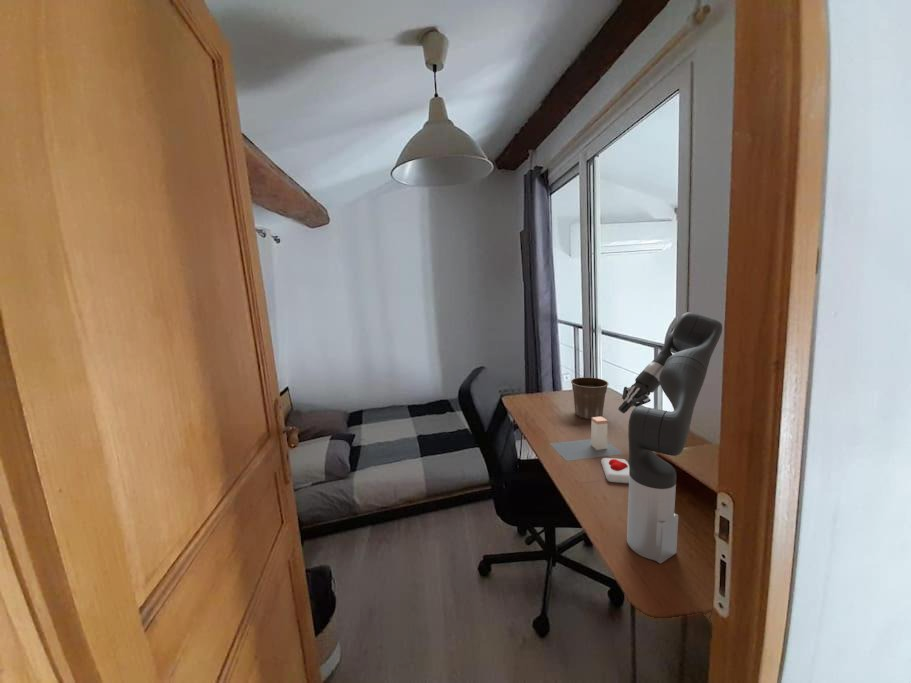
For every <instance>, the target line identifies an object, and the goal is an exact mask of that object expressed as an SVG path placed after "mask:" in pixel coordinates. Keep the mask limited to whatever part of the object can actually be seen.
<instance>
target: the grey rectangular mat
mask: <svg viewBox="0 0 911 683" xmlns="http://www.w3.org/2000/svg"><path fill="white" fill-rule="evenodd" d="M549 445H550V446H551V447H552V448H553V450H555V451H556V452H557V454H558V455H560V457H561V458H562V459H563V460H564V461H566V462H570V461H577V460H578V461H579V460H586V459H596V458H603V457H604V458H605V457H611V456H618V455H619V456H620V455H625V453H624V452H623V451H621V450H620V449H619V448H617V447H615V445H613V444H611V443H610V442H609V441H607V449H600V450H596V449H595V448H594V447H593V446H591V438H585V439H577V440H570V441H568V440H567V441H562V442H559V441H557V442H552V443H551V442H550V443H549Z"/></svg>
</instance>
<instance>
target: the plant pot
mask: <svg viewBox="0 0 911 683" xmlns="http://www.w3.org/2000/svg"><path fill="white" fill-rule="evenodd" d="M570 383H571V387H572V392H573V401H574V413H575V415H576V416H578V417H579V418H582V419H584V418H585V420H591V418H592V417H601V416H602V417H603V416H604V407H605V406H604V405H605V400H606V399H605V398H606V393H607V389H608V386H609V382H608V381H607V380H605V379H603V378H602V379H601V378H599V377H589V376H588V377H575V378H572V379H571V380H570Z"/></svg>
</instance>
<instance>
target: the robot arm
mask: <svg viewBox="0 0 911 683" xmlns="http://www.w3.org/2000/svg"><path fill="white" fill-rule="evenodd" d="M722 333H723V324H722V323H721V322H720V321H719V320H717V319H715V318H711V317H709V316H705V315H702V314H699V313H695V312H690V311H687V312H685V313H683V314H681V315H680V316H679V318H678V320H677V322H676V324H675V326H674V328H673V330H672V332H670V333H669V334H668V335H667V337H666V339H665V341H664V345H663V346H662V348H661V350H660V352H659V353H658V354H657V355H656V357H654V359H653V360H652V361H651V362H650V363H649V364H648V365H646V366H645V367H644V368H643V370H642V371H641V372H640V373H639V374H638V375H637V376H636V377H635V381H634V383H633V384H631V386H629V387H627V386H624V387H623V391H622V395H621V399H622V400H623V402H622V403H621V405H620V406H619V407H618V411H620V413H622V414H625V413H627V412H628V411H629V410H630V408H633V407H634V408H633V409H632V411H631V412H630V415H629V417H628V418H629V420H628V425H627V426H628V429H627V432H628V437H627V439H628V464H629V483H628V494H627V495H628V496H627V497H628V498H627V499H628V500H627V520H626V521H627V523H626V524H627V528H626V529H627V530H626V542H627V545H628V546H629V547H630V549H631V550H632V551H633V552H634V553H636V554H637V555H639V556H640V557H642V558H645V559H647V560H651V561H655V562H657V563H659V564H663V563H664V562H666V561H667V560H668V559H670V558H671V557H673V556H674V555H675V554H677V547H678V546H677V545H678V529H679V515H678V514H677V513H675V506H676V504H675V502H676V487H677V471H676V469H675V467H673V465H672V464H670V463H669V462H667V461H666V460H664V458H661V457H659V455H657V454H656V453H658V454H661V455H666V456H672V457H675V456H678V455H680V454H682V453H683V450H684V449H685V446H686V444H687V440H688V436H689V432H690V426H691V422H692V420H693V419H692V418H693V414H694V410H695V406H696V403H697V400H698V398H699V394H700V393H701V390H702V388H703V385H704V383H705V382H704V381H705V378H706V376H707V372H708V368H709V366H710V365H709V364H710V361H711V359H712V355H713V353H714V351H715V350H716V346H717V345H718V342H719V340H720V338H721V336H722ZM671 350H672V351H674V353H672V351H671ZM659 387H660V388H661V390H662V392H663V393H664V395H665V396H666V398H667V399H668V400H669V402H670V404H671V406H672V408H673V410H672V411H670V410H669V411H668V410H663V409H658V408H653V407H647V406H643V405H645V404H648V403H651V398H650V395H651V393H655V392H656V390H657V389H658V388H659Z"/></svg>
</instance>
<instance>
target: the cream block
mask: <svg viewBox="0 0 911 683" xmlns="http://www.w3.org/2000/svg"><path fill="white" fill-rule="evenodd" d="M590 420H591V427H590V428H591V429H590V432H591V433H590V435H591V436H590V439H591V446H593V447H594V448H595V449H596V450H600V449H607V442H608V422H609V421H608V419H606V418H605V417H603V416H601V417H592V418H591V419H590Z"/></svg>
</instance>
